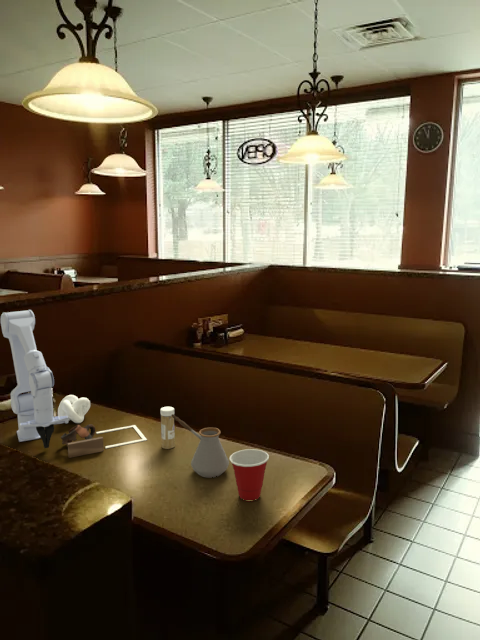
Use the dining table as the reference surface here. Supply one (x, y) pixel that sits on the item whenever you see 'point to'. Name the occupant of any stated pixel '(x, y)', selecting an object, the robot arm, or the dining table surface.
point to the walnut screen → (85, 447)
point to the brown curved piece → (78, 430)
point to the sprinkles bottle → (167, 427)
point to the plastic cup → (249, 472)
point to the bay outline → (125, 442)
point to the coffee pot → (207, 452)
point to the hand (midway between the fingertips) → (46, 446)
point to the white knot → (74, 408)
